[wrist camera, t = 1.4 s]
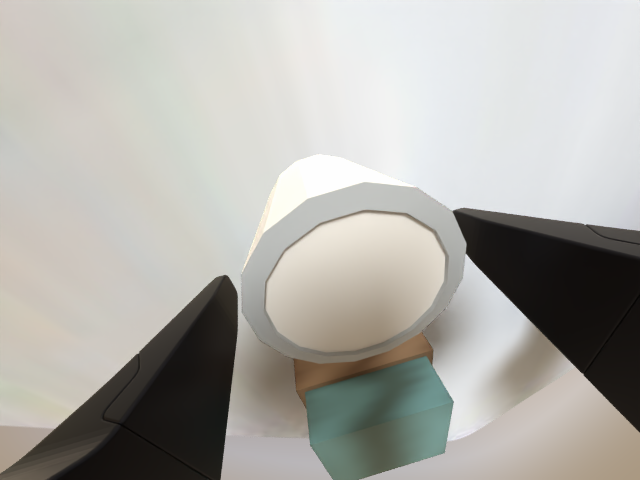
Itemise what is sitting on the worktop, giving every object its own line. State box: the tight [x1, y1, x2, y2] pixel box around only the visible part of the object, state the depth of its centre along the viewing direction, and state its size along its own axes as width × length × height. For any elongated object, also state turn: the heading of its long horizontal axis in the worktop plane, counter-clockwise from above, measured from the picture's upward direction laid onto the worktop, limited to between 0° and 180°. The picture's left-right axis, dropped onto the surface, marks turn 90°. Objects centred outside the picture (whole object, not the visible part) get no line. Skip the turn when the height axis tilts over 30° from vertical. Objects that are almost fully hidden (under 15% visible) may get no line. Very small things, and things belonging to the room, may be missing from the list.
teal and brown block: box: [294, 332, 454, 480], centre depth 19 cm, size 10×10×6 cm
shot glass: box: [241, 155, 467, 364], centre depth 10 cm, size 7×7×7 cm
